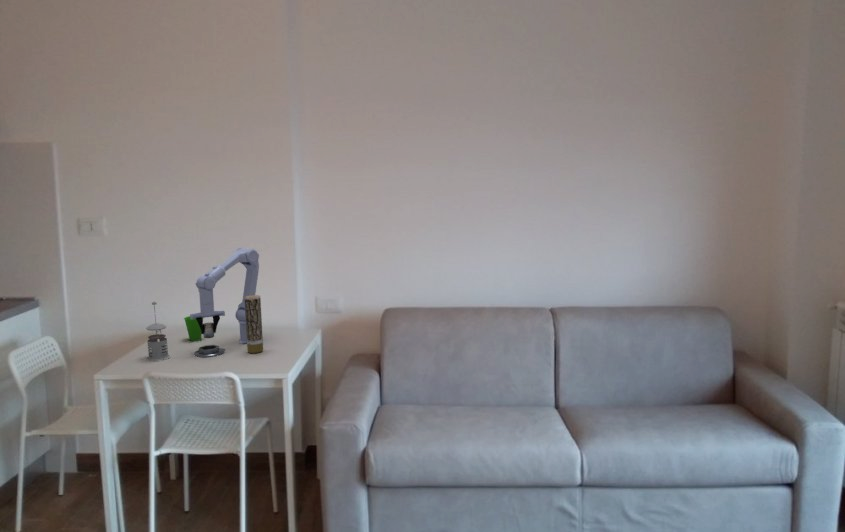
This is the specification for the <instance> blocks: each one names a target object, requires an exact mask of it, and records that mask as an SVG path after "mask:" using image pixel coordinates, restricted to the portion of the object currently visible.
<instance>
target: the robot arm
mask: <svg viewBox="0 0 845 532" xmlns="http://www.w3.org/2000/svg"><path fill="white" fill-rule="evenodd" d="M259 258H260V254H259V253H258V251H257V250H256V249H254V248H242V247H238V248H236V250H234V251H233V252H232V255H230V256H229V257H228V258H227V259H226V260H225V261H223V263H221V264H220V265H214V266H212V268H211V269H210V270H209V271H207V272H205V274H204V275H201V276H199V277H198V278H197V279H196V282H195V286H196V288H197V289H198V293H199V305H200V306H199V308H200V312H196V313H190V314H189V316H190V319H195V318H196V320H197V322H198V324H199V326H200V329H201V333H202V335H203V334H204V331H203V324H204V318H212V321H213V322H212V323H213V324H214V334H216V333H217V327H218V324H219V321H220V317H224V316H226V312H225V311H226V310H215V303H214V290H213V289H215V287H216V284H218V282H219V281H220V280H222V278H224V277H225V276H226V272H227V271H229V270H230V269H231V268H233V267H234V266H235V265H237V264H239V263H240V264H241V265H243V267H244V268H245V269H246V270H245V271H246V272H245V280H244V286H243V293H242V294H243V295H242V299H241V300H242V301H241V303H239V304H238V306H237V310H236V311H235V319H236V321H238V323H239V342H238V343H239V344H247V333H246V315H245V297H246V296H251V295H256V292H257V285H258V277H259V270H260V264H259ZM202 318H203V320H202Z"/></svg>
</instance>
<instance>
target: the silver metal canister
mask: <svg viewBox="0 0 845 532" xmlns="http://www.w3.org/2000/svg"><path fill="white" fill-rule="evenodd" d="M203 331H204V334H202V335H203V339H213V338H214V337H215V333H214V324H213V322H203Z"/></svg>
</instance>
